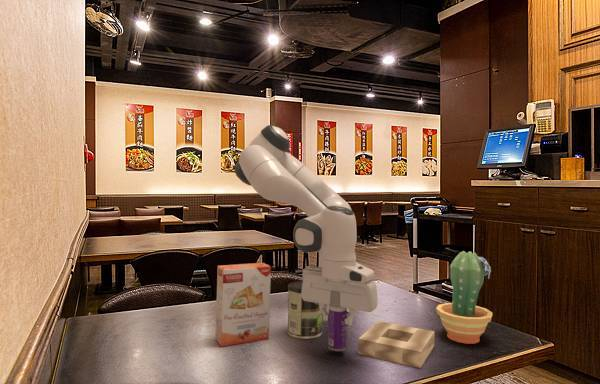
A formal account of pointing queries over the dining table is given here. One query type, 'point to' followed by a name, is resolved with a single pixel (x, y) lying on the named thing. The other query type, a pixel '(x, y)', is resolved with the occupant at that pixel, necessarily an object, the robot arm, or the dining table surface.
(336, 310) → the container
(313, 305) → the coffee can
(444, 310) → the potted cactus
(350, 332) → the dining table surface
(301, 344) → the dining table surface
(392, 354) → the organizer block
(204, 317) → the dining table surface
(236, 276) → the cracker box
